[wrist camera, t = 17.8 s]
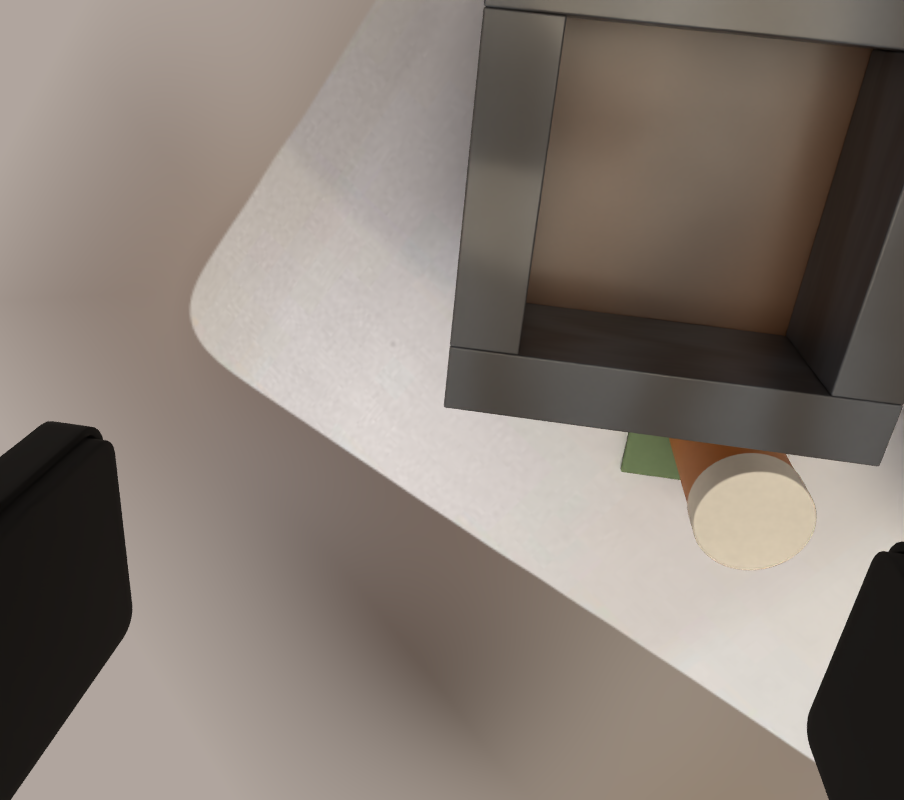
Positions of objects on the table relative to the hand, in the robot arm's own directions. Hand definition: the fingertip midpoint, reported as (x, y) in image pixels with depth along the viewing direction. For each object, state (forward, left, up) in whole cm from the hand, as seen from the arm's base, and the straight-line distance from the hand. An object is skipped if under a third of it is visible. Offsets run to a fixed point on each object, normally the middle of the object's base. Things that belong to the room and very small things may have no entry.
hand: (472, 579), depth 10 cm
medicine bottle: (+14, -16, -40) cm, 45 cm away
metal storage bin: (+6, +1, -40) cm, 41 cm away
